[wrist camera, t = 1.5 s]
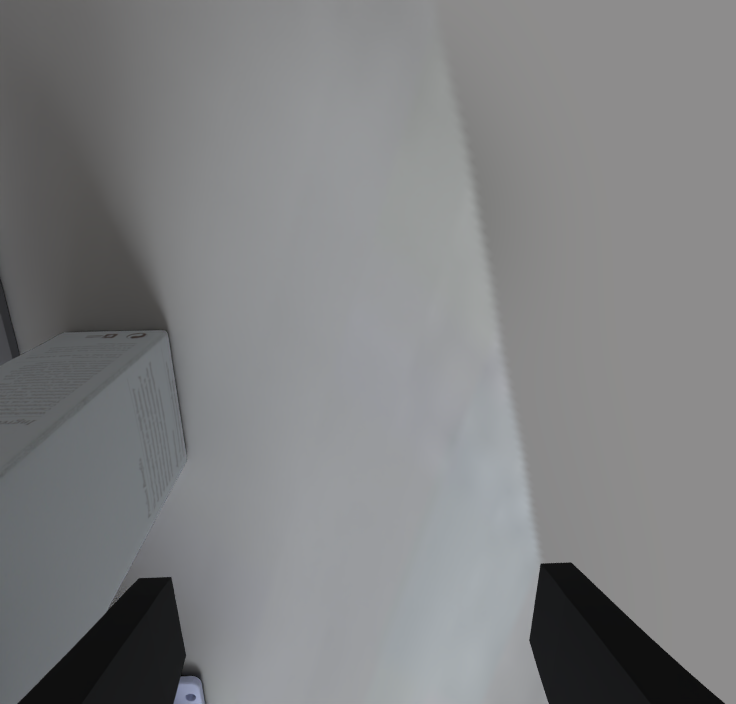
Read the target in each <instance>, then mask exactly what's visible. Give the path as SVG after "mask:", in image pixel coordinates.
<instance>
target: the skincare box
mask: <svg viewBox="0 0 736 704" xmlns="http://www.w3.org/2000/svg"><path fill="white" fill-rule="evenodd" d="M186 461H187V455H186V449H185V443H184V436H183V430H182V423H181V416H180V410H179V403H178V396H177V390H176V383H175V377H174V371H173V364H172V358H171V351H170V344H169V338H168V333H167V332H166V331H164V330H147V331H100V332H67V333H62V334H59V335H57V336H55V337H54V338H52V339H50V340H49V341H47V342H45V343H43V344H41V345H39V346H37V347H36V348H34V349H32V350H29V351H27V352H25V353H23V354H22V355H20V356H18V357H16V358H14V359H12V360H10V361H8V362H6V363H4V364H3V365H1V366H0V704H17V703H18V702H19V701H20V700H21V699H22V698H23V697H24V696H25V695H26V694H27V693H28V692H29V691H30V690H31V689H32V688H33V687H34V686H35V685H36V684H37V683H38V682H39V681H40V680H41V679H42V678H43V677H44V676H45V675H46V674H47V673H48V672H49V671H50V670H51V669H52V668H53V667H54V666H55V665H56V664H57V663H58V662H59V661H60V660H61V659H62V658H63V657H64V656H65V655H66V654H67V653H68V652H69V651H70V650H71V649H72V648H73V647H74V646H75V645H76V644H77V642H78V641H79V640H80V639H81V638H82V637H83V636H84V635H85V634H86V633H87V632H88V631H89V630H90V629H91V628H92V627H93V626H94V625H95V624H96V623H97V622H98V620H99V619H100V618H101V617H102V616H103V615H104V614H105V613H106V612H107V610H108V608H109V606H110V604H111V602H112V600H113V599H114V597H115V595H116V593H117V591H118V589H119V587H120V585H121V583H122V582H123V580H124V578H125V576H126V574H127V572H128V570H129V569H130V567H131V565H132V563H133V561H134V559H135V557H136V555H137V554H138V552H139V550H140V548H141V546H142V544H143V542H144V540H145V539H146V537H147V535H148V533H149V531H150V529H151V527H152V525H153V523H154V522H155V520H156V518H157V516H158V514H159V512H160V510H161V508H162V506H163V504H164V503H165V501H166V499H167V497H168V495H169V493H170V492H171V490H172V488H173V486H174V484H175V482H176V480H177V478H178V477H179V475H180V473H181V471H182V469H183V467H184V465H185V463H186Z"/></svg>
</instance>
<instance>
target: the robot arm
mask: <svg viewBox="0 0 736 704" xmlns="http://www.w3.org/2000/svg"><path fill="white" fill-rule="evenodd" d="M529 641H530V644H531V648H532V651H533V654H534V658H535V661H536V665H537V668H538V671H539V675H540V678H541V681H542V684H543V687H544V690H545V693H546V696H547V700H548V702H549V704H725V703H723V702H722V701H721V700H720V699H719V698H718V697H716V696H715V695H714V694H713V693H712V692H711V691H709V690H708V689H707V688H706V687H705V686H704V685H703V684H701V683H700V682H699V681H698V680H697V679H696V678H695V677H693V676H692V675H691V674H690V673H689V672H688V671H687V670H685V669H684V668H683V667H682V666H681V665H680V664H679V663H678V662H677V661H675V660H674V659H673V658H672V657H671V656H670V655H669V654H668V653H667V652H665V651H664V650H663V649H662V648H661V647H660V646H659V645H658V644H657V643H656V642H655V641H653V640H652V639H651V638H650V637H649V636H648V635H647V634H646V633H645V632H644V631H643V630H642V629H641V628H639V627H638V626H637V625H636V624H635V623H634V622H633V621H632V620H631V619H630V618H629V617H628V616H627V615H626V614H625V613H624V612H623V611H621V610H620V609H619V608H618V607H617V606H616V605H615V604H614V603H613V602H612V601H611V600H610V599H609V598H608V597H607V596H606V595H605V594H604V593H603V592H602V591H601V590H600V589H598V588H597V587H596V586H595V585H594V584H593V583H592V582H591V581H590V580H589V579H588V578H587V577H586V576H585V575H584V574H583V573H582V572H581V571H580V570H579V569H577V568H576V567H575V566H574V565H573V564H572V563H547V564H546V563H545V564H541V565H540V572H539V579H538V586H537V592H536V599H535V606H534V613H533V620H532V626H531V633H530V640H529ZM185 657H186V653H185V648H184V643H183V637H182V632H181V626H180V621H179V616H178V610H177V605H176V600H175V594H174V589H173V584H172V578H171V577H162V578H139V579H138V580H137V581H136V582H135V583H134V584H133V585H132V586H131V587H130V588H129V589H128V590H127V591H126V592H125V593H124V594H123V595H122V596H121V597H120V598H119V599H118V600H117V602H116V603H115V604H114V605H113V606H112V607H111V608H110V609H109V610H108V611H107V612H106V613H105V614H104V615H103V616H102V617H101V618H100V619H99V620H98V622H97V623H96V624H95V625H94V626H93V627H92V628H91V629H90V630H89V631H88V632H87V633H86V634H85V635H84V636H83V637H82V638H81V639H80V640H79V641H78V642H77V644H76V645H75V646H74V647H73V648H72V649H71V650H70V651H69V652H68V653H67V654H66V655H65V656H64V657H63V658H62V659H61V660H60V661H59V662H58V663H57V664H56V665H55V666H54V667H53V668H52V669H51V670H50V671H49V672H48V673H47V674H46V675H45V676H44V677H43V678H42V679H41V680H40V681H39V682H38V683H37V684H36V685H35V686H34V687H33V688H32V689H31V690H30V691H29V692H28V693H27V694H26V695H25V696H24V697H23V698H22V699H21V700H20V701H19V702H18V703H17V704H205V701H204V695H203V689H202V683H201V680H200V679H199V678H198V677H195V676H181V673H182V669H183V665H184V661H185Z"/></svg>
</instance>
